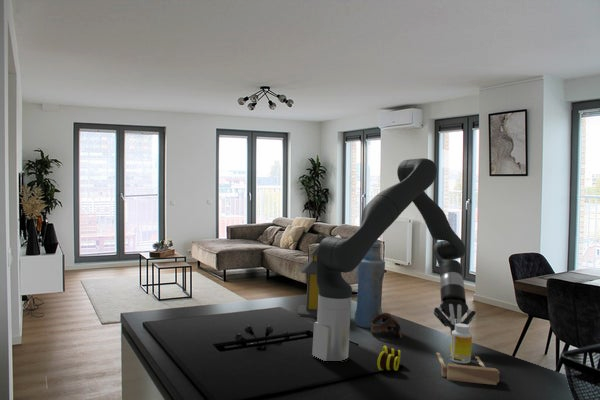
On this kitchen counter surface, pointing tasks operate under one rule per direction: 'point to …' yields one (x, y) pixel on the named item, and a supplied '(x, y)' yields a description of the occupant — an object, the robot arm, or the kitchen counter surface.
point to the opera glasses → (388, 359)
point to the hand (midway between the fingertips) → (456, 338)
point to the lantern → (311, 286)
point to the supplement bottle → (461, 344)
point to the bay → (469, 372)
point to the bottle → (369, 287)
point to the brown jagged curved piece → (385, 324)
